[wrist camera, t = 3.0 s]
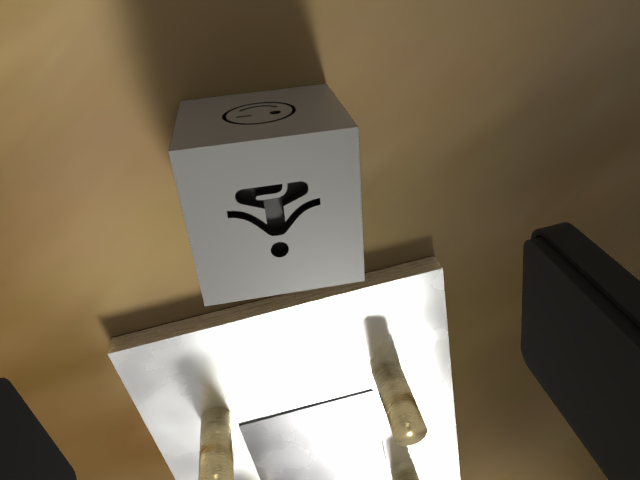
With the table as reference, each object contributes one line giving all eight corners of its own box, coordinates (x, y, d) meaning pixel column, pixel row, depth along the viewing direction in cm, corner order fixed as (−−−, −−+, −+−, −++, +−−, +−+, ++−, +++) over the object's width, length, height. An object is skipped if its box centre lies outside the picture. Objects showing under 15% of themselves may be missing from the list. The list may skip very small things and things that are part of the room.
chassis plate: (434, 255, 23) (478, 321, 19) (456, 500, 32) (489, 578, 28) (112, 337, 22) (89, 422, 18) (230, 563, 31) (231, 651, 27)
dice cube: (326, 82, 18) (358, 126, 14) (334, 210, 21) (364, 280, 17) (180, 100, 18) (168, 151, 14) (207, 229, 20) (204, 306, 16)
